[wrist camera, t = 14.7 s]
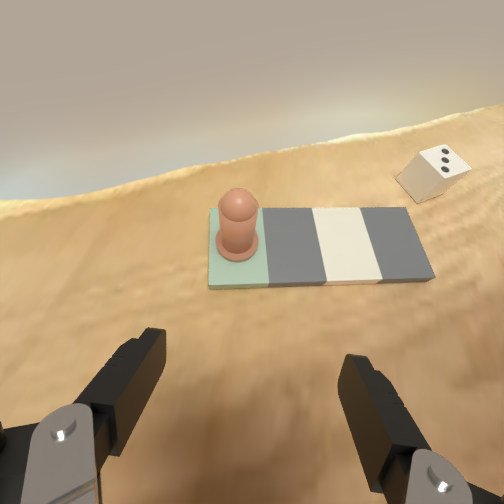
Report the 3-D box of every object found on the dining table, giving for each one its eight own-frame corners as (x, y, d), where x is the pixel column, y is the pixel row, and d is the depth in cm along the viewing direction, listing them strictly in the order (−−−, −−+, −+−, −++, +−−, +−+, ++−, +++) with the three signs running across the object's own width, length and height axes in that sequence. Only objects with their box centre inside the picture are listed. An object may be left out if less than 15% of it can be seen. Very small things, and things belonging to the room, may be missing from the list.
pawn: (256, 225, 28) (265, 174, 21) (258, 262, 26) (269, 219, 19) (216, 225, 28) (210, 172, 20) (215, 262, 26) (208, 219, 18)
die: (419, 170, 37) (445, 143, 33) (441, 194, 35) (472, 168, 31) (395, 179, 36) (418, 151, 31) (417, 203, 34) (445, 178, 29)
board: (398, 213, 33) (405, 207, 32) (426, 281, 28) (435, 277, 27) (211, 215, 31) (210, 208, 29) (209, 289, 26) (208, 285, 25)
